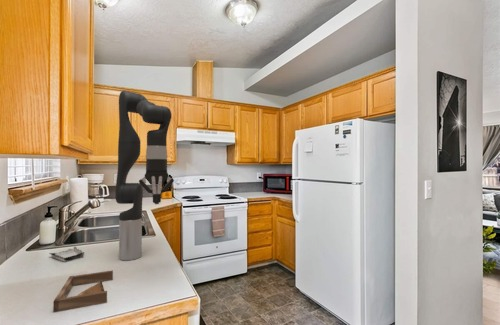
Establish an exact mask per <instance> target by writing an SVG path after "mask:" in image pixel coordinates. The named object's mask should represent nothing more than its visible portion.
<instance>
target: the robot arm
mask: <svg viewBox="0 0 500 325" xmlns="http://www.w3.org/2000/svg"><path fill="white" fill-rule="evenodd" d="M118 96H119V97H118V117H119V118H118V121H119V123H118V124H119V125H118V127H119V128H118V142H117V143H118V144H117V146H118V147H117V173H116V174H117V175H116V181H115V193H114V194H115V196H114V197H115V202H116V203H117V204H119V205H121V204H122V205H127V204H131V205H132V204H133V205H132V207H131V208H129V209H126V210H124V211H122V212H120V213H119V216H118V218H119V220H118V226H119V230H118V235H119V236H118V238H119V239H118V259H119V260H120V261H133V260H136V259H139V258H141V257H142V250H143V249H142V248H143V247H142V246H143V245H142V244H143V242H142V241H143V240H142V239H143V238H142V237H143V232H142V231H143V230H142V229H143V228H142V227H143V221H142V220H143V217H142V216H143V215H142V214H143V197H144V195H143V194H144V190H145V191H146V192H147V193H148V194H152V203H153V204H154V205H160V203H161V200H162V194H164V193H166V192H167V190H168V189H169V188H170V187H171V186H172V184H173V183H174V182H175V180H174V178H172V177H170V176H169V173H168V149H167V145H168V144H167V136H168V130H169V126H170V123H171V122H172V111H171V109H170V108H169V107H168V106H164V105H157V104H156V103H154V102H152V101H149V100H148V99H147V98H146V96H144V95H143V94H140V93H137V92H133V91H127V90H122V91H120V93H119V95H118ZM129 113H133V114H138V115H139V116H140V117H141V118H142V121H143V122H144V123H146V124H152V125H159V127H158V129H152V130H148V131H147V133H146V151H145V173H144V177H142V178H140V179H139V180H138V182H127V178H128V175H129V173H130V171H131V169H132V168H133V166H134V165H135V163H136V162H137V161H138V159H139V158H140V155H141V138H140V136H139V135H138V132H137V131H136V130H135V128H134V126H133V124H132V122H131V120H130V117H129ZM147 182H148V183H149V184H150V185H151V188H150V187H149V186H148V185H147ZM165 182H166V185H164V187H163V188H162V185H163V184H164V183H165ZM156 185H157V186H156Z"/></svg>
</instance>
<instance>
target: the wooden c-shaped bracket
mask: <svg viewBox="0 0 500 325" xmlns="http://www.w3.org/2000/svg"><path fill="white" fill-rule="evenodd" d="M113 272H114V270H112V269H111V270H106V271H100V272H99V271H98V272H93V273H92V272H91V273H85V274H79V275H78V274H77V275H70V276H68V278H67V280H66V281H65V283H64V285H63V286H62V287H61V289H60V291H59V293H58V294H57V295H56V297H55V298H54V300H53V302H52V303H53V306H52V308H53V310H52V312H53V313H55V312H56V313H57V312H63V311H67V310H73V309H78V308H83V307H89V306H95V305H101V304H105V303H107V302H108V290H104V291H102V292H96V293H90V294H84V295H78V294H77V295H78V296H77V295H74V296H69V294H70V292H71V290H72V289H73V287H75V286H83V285H88V284H97V283H99V282H101V281H102V282H108V281H113V280H114V278H113V277H114V276H113V274H114V273H113Z"/></svg>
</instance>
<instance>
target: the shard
mask: <svg viewBox="0 0 500 325" xmlns="http://www.w3.org/2000/svg"><path fill="white" fill-rule="evenodd" d="M102 291H105V288H104V284H103V281H101V282H96V283H95V284H94V285H93V286H90V287H88V288H86V289H85V290H83V291H81V292H80V293H78V294H77V295H76V296H78V295H84V294H90V293H96V292H102Z"/></svg>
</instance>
